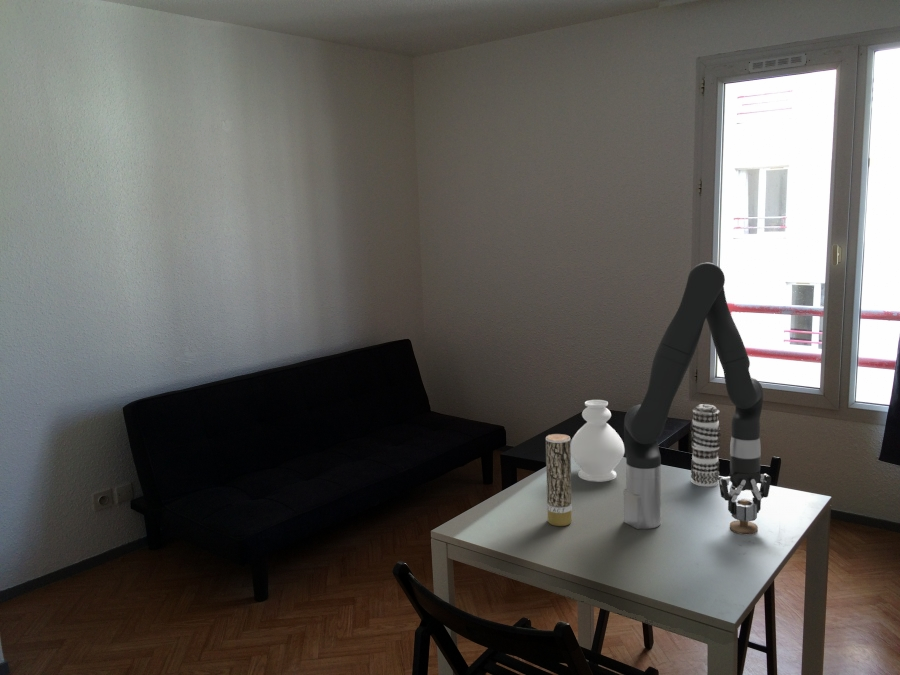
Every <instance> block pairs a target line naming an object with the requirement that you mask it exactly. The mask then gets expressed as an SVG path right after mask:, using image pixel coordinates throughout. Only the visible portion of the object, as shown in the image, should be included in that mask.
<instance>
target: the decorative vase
mask: <svg viewBox="0 0 900 675" xmlns="http://www.w3.org/2000/svg"><path fill="white" fill-rule="evenodd" d="M608 405H609V402H608V401H607V400H603V399H590V400H586V401H585V402H584V406H585V408H584V409H583V411H582V413H581V417H582V418H583V420H584V421H586V422H585V423H584V424H583V425H582V426H581V427H580V428H579V429H578V430H577V431H576V433H575V434H574V435H573V437H572V439H571V440H570V451H571V459H573V460H574V462H575V463H576V464H577V465H578V466H579V468H580V469H581V470H579V471H578V472H577V473H578V477H579V478H580V479H582V480H585V481H589V482H595V483H596V482H597V483H599V482H601V483H603V482H609V481H610V482H611V481H613V480H615V479H616V478H617V472H616V470H614V469H615V468H616V467H617V465H618V464H619V463H620V462H621V461H622V459H623V457H624V456H625V443H624V442H623V439H622V438H621V437H620V435H619V433H618V432H616V430H615V428H613V427H612V426H611V425H610V424H609V423H608V421H609V420H610V419H611V417H612V413H611V411H610V409H608V408H607V407H608Z"/></svg>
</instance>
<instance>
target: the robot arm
mask: <svg viewBox="0 0 900 675" xmlns="http://www.w3.org/2000/svg"><path fill="white" fill-rule="evenodd" d="M725 282H726V280H725V274H724V272H723V270H722V269H721V267H720V266H718V265H717V264H715V263H712V262H701V263H699V264H696V265H695V266H694V267H693V268H692V269H691V270H690V271H689V273H688V276H687V281H686V285H685V288H684V292H683V295H682V298H681V301H680V303H679V306H678V308H677V311H675V314H674V316H673V318H672V320H671V321H670V323H669V325H668V326H667V328H666V330H665V332H664V334H663V336H662V338H661V340H660V342H659V344H658V346H657V348H656V351H655V354H654V356H653V360H652V364H651V368H650V369H651V370H650V375H649V381H648V388H647V390H646V394H645V396H644V398H643V400H642V401H641V404H636V405H633V406H632V407H630V408H629V409H628V410H627V412H626V413H625V416H624V422H623V430H624V431H623V435H624V436H623V437H624V439H623V440H624V454H625V460H626V466H625V467H626V473H625V474H626V476H625V477H626V489H623V522H624V523H625V524H627V525H629V526H631V527H632V528H635V529H637V530H640V529H654V528H657V527H659V526H660V525H661V518H662V517H661V509H662V508H661V507H662V506H661V505H662V503H661V500H662V499H661V495H662V490H661V489H662V488H661V487H662V486H661V484H662V483H661V482H662V481H661V480H662V479H661V478H662V477H661V475H662V473H661V472H662V467H661V466H662V465H661V464H662V463H661V462H662V456H661V453H660V449H659V439H660V437H661V436H662V434H663V432H664V429H665V427H666V424H667V423H666V422H667V420H668V416H669V413H670V410H671V406H672V403H673V401H674V399H675V397H676V395H677V393H678V391H679V389H680V386H681V384H682V382H683V379H684V377H685V375H686V373H687V371H688V369H689V366H690V364H691V362H692V360H693V358H694V356H695V353H696V350H697V347H698V344H699V343H700V342H699V341H700V338H701V334H702V330H703V326H704V324H705V320H706V321H707V325H708V327H709V331H710V335H711V339H712V342H713V345H714V348H715V351H716V354H717V357H718V360H719V363H720V365H721V367H722V370H723V377H724V383H725V388H726V392H727V396H728V397H729V399H730V401H731V403H732V404H733V405H734V406H735V410H734V415H733V416H732V418H731V433H730V434H731V436H730V443H729V444H730V445H729V449H730V450H729V474H728V476H724V477H722V476H719V478H718V481H719V484H718V486H719V493H720V497H721V498H722V499H724V500H725V501H727V506H728V507H727V510H728V512H729V513H730V514H731V516H732V515H735V514H736V502H735V501H736V499H738V496H740V495H741V492H742V491H743V492H745V491H750V492H751V494H752V496H753V497H752V499H751V500H753V501H754V502H755V503H756V504H757V514H759V512H760V511H761V507H762V506H761V504H762V503H761V502H762V499H763V498H768V497H769V492H770V488H771V482H772V476H770V475H769V474H767V473H764V472H763V473H761V451H762V449H761V447H762V446H761V422H760V421H761V414H762V409H763V404H764V402H763V401H764V389H763V386H762V384H761V382H759V381H758V379H756V378H754V377H752V376H751V374H750V370H749V369H750V366H751V362H750V358H749V355H748V352H747V350H746V349H747V348H746V346H745V344H744V342H743V339H742V337H741V334H740V331H739V330H738V327H737V326H736V323H735V321H734V318H733V317H732V314H731V311H730V310H729V305H728V301H727V299H726V293H725V287H724V286H725ZM759 482H760V486H759V487H758V485H757V484H758V483H759ZM730 483H731V484H730ZM729 485H730V487H728V486H729Z"/></svg>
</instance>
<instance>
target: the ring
mask: <svg viewBox="0 0 900 675" xmlns="http://www.w3.org/2000/svg"><path fill="white" fill-rule="evenodd" d="M740 500H748V505H740ZM735 502H736V514H735V515H732V514H731V517H732V518H734V520H735V521H737V520H740V521H749V522H753V521H756V519H757V518H758V513H757V504H756V503H755V502H754V501H753V500H752V499H749V498H743V497H742V498H741V497H740V498H737V499H736V501H735Z"/></svg>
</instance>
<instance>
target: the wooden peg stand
mask: <svg viewBox="0 0 900 675" xmlns="http://www.w3.org/2000/svg"><path fill="white" fill-rule="evenodd" d="M740 505H748V500H740ZM729 529H730V530H731V532H734V533H736V534H740V535H755V534H756V533H758V529H759V527H758V525H757V524H756V523H754V522H753V521H740V520H733V521H731V522H730V523H729Z"/></svg>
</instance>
